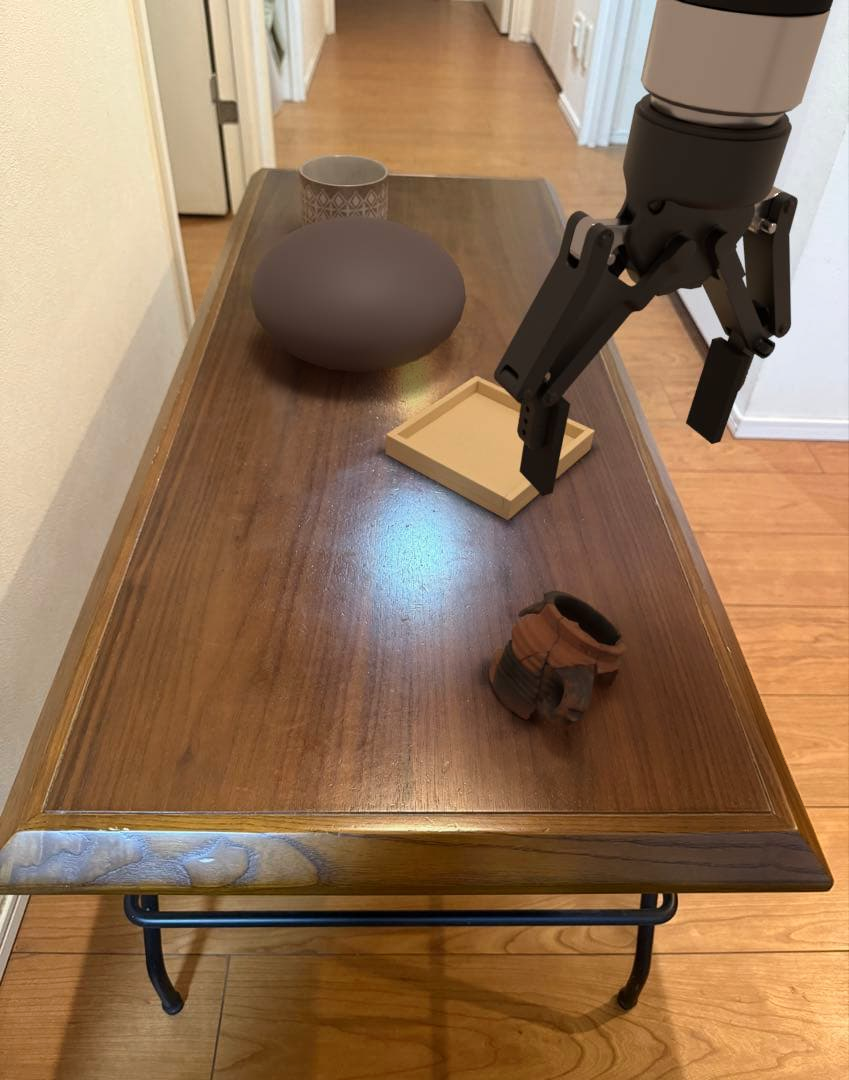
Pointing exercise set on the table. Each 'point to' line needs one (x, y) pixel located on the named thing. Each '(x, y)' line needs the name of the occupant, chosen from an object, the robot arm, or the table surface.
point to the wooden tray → (478, 446)
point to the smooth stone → (358, 294)
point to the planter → (342, 188)
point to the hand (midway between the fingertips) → (622, 456)
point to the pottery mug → (556, 659)
